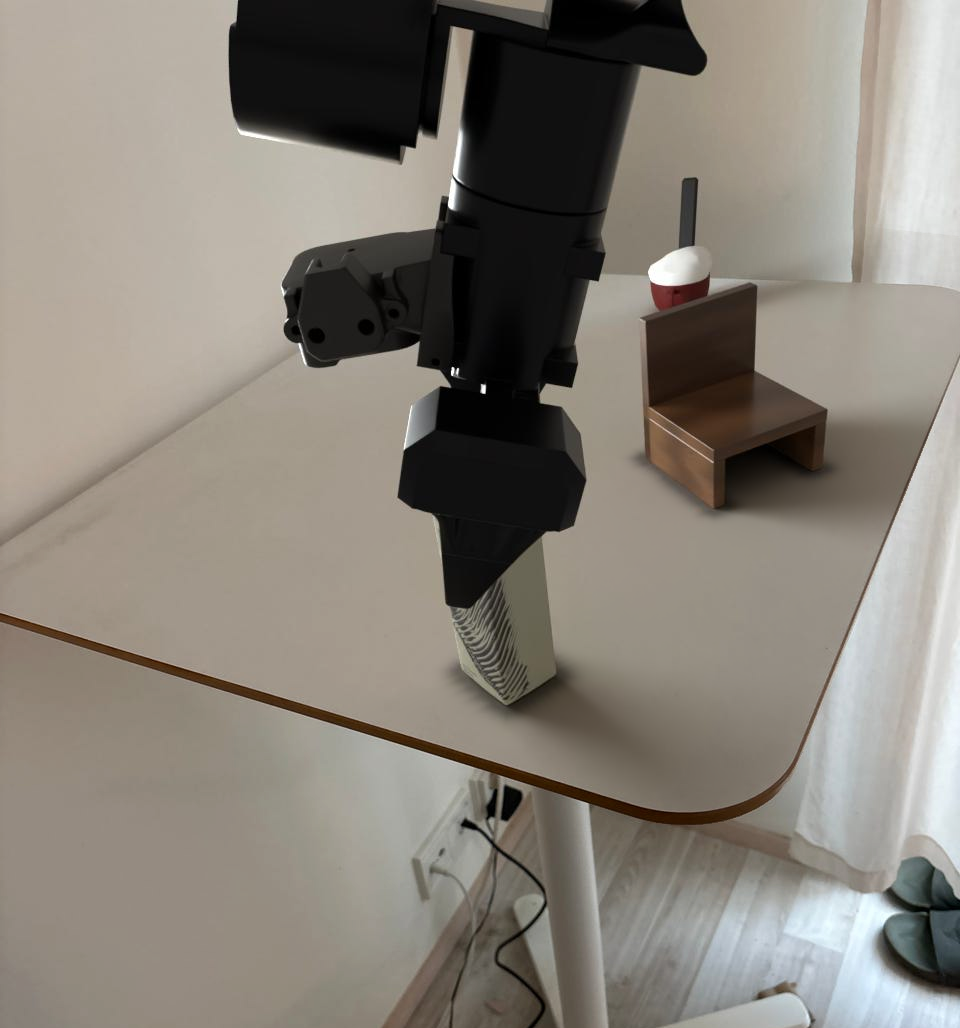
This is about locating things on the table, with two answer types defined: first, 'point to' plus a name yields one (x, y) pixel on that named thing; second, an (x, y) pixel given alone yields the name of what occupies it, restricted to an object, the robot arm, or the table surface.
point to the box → (508, 630)
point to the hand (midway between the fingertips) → (461, 545)
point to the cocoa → (682, 260)
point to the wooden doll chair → (717, 394)
